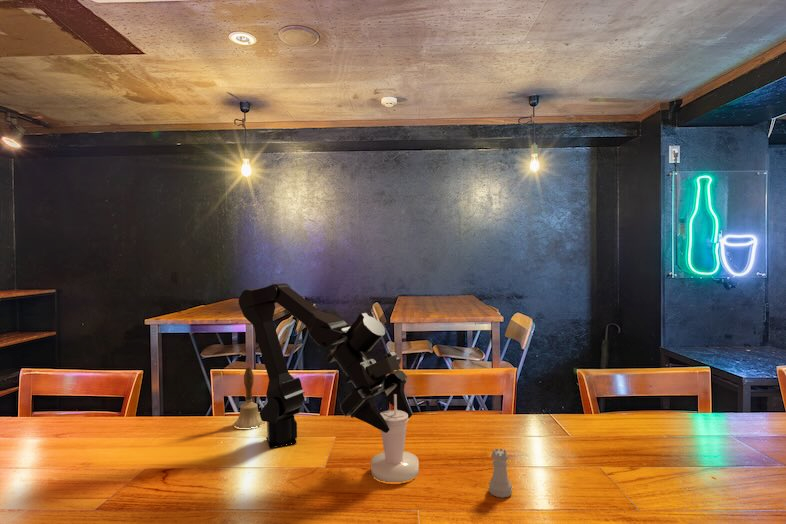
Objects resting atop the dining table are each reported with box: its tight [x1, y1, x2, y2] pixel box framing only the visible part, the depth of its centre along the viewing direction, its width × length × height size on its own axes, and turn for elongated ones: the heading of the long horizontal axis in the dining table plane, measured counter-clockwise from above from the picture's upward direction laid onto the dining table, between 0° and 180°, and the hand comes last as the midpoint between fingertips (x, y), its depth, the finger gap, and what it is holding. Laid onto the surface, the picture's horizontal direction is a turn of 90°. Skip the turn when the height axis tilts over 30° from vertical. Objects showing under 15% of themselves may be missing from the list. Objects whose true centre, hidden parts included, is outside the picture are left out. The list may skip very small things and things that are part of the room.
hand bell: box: [233, 366, 266, 428], centre depth 124 cm, size 8×8×16 cm
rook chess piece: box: [488, 447, 513, 499], centre depth 86 cm, size 4×4×8 cm
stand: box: [370, 450, 420, 482], centre depth 94 cm, size 10×10×2 cm
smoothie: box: [380, 394, 409, 465], centre depth 94 cm, size 6×6×14 cm
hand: (399, 423), depth 93 cm, fingers open, 9 cm apart
